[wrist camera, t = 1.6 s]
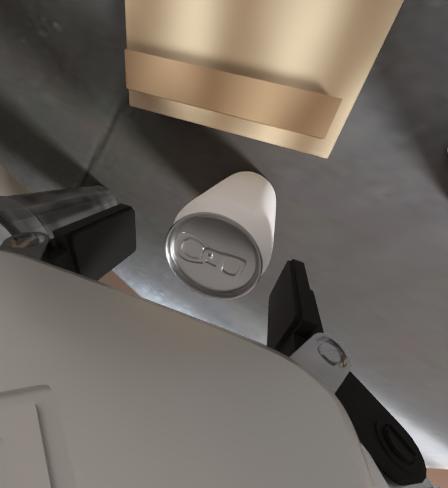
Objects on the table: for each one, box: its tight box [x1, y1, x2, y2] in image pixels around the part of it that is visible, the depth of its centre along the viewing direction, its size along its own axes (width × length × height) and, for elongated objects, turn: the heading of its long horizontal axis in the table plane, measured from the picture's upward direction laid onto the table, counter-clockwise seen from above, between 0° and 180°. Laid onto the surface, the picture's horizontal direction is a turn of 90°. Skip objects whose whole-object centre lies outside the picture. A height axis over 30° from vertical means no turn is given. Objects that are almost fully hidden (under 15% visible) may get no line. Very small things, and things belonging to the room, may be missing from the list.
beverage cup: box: [0, 186, 118, 245], centre depth 17 cm, size 7×7×20 cm
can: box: [165, 171, 276, 300], centre depth 15 cm, size 6×6×12 cm
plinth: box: [124, 0, 404, 158], centre depth 11 cm, size 16×14×6 cm
